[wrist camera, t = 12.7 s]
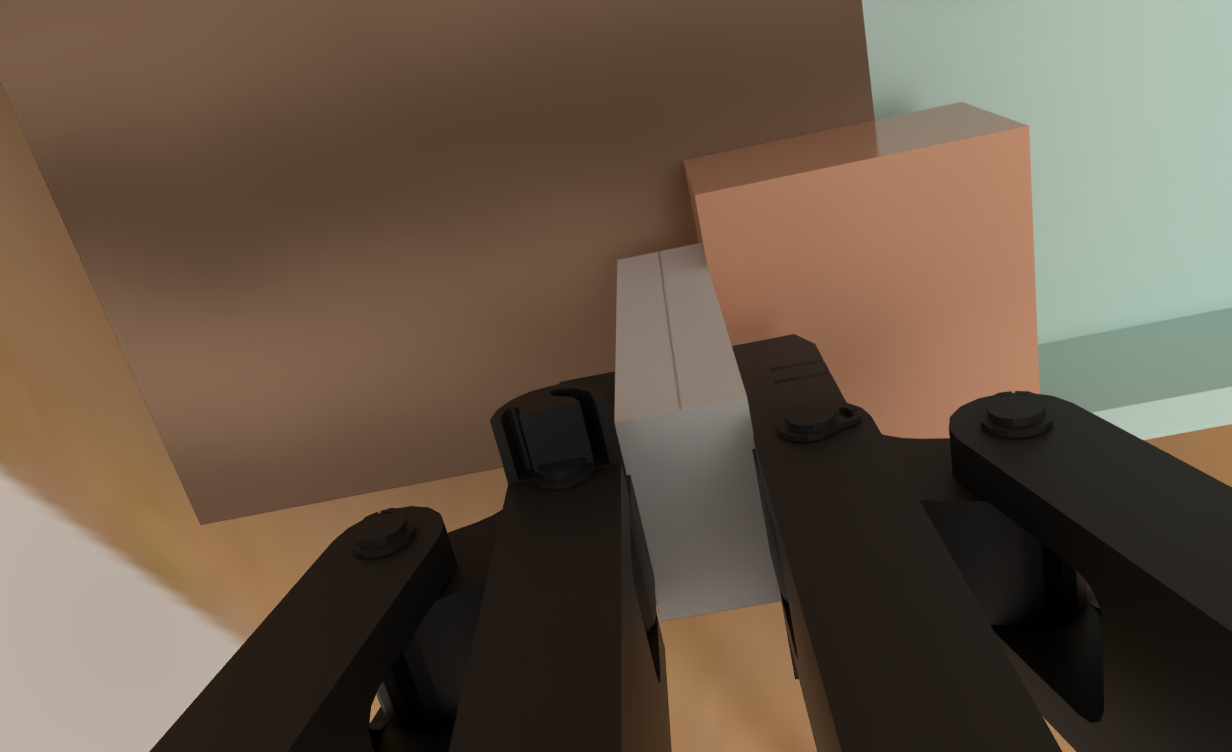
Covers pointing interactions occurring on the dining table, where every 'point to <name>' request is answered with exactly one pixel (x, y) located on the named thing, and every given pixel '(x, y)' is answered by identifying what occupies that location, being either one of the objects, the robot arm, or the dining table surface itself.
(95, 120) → the plate
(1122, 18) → the tray
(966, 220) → the terracotta tile
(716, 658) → the dining table surface
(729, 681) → the dining table surface
